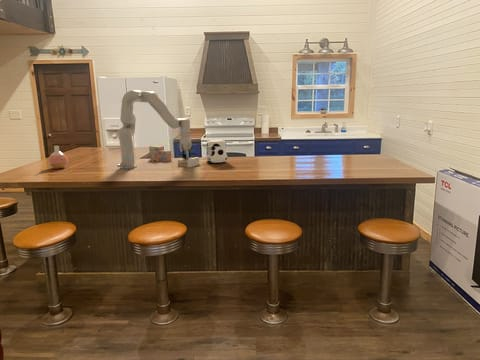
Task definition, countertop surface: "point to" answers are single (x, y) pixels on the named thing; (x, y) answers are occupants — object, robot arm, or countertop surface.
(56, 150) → the vase
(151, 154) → the stack of blocks
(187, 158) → the dowel
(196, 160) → the wall
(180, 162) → the block
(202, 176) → the countertop surface
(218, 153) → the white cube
